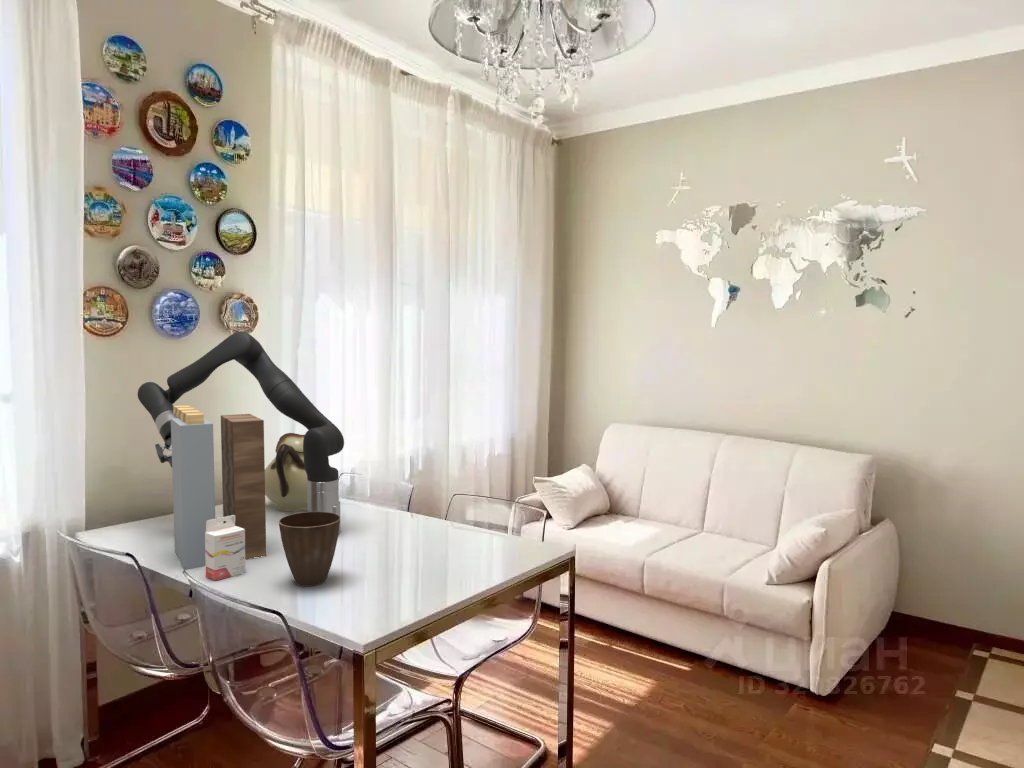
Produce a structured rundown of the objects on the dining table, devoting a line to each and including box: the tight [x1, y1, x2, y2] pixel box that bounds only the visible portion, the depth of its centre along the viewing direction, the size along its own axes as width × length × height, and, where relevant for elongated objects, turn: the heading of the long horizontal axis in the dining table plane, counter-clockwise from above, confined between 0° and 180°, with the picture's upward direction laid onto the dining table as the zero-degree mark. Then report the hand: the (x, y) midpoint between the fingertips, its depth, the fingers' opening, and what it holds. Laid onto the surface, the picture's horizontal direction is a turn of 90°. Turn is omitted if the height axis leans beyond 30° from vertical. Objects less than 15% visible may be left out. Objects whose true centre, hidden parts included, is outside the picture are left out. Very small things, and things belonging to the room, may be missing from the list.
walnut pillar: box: [220, 413, 267, 560], centre depth 206 cm, size 16×8×38 cm, turn 33°
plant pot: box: [278, 511, 341, 587], centre depth 184 cm, size 15×15×16 cm
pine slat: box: [173, 404, 205, 425], centre depth 201 cm, size 24×4×2 cm, turn 33°
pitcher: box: [265, 432, 308, 512], centre depth 254 cm, size 22×24×25 cm
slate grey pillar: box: [171, 417, 216, 570], centre depth 199 cm, size 16×8×38 cm, turn 33°
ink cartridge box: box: [205, 515, 246, 582], centre depth 187 cm, size 9×5×15 cm, turn 141°
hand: (191, 461), depth 213 cm, fingers open, 8 cm apart
